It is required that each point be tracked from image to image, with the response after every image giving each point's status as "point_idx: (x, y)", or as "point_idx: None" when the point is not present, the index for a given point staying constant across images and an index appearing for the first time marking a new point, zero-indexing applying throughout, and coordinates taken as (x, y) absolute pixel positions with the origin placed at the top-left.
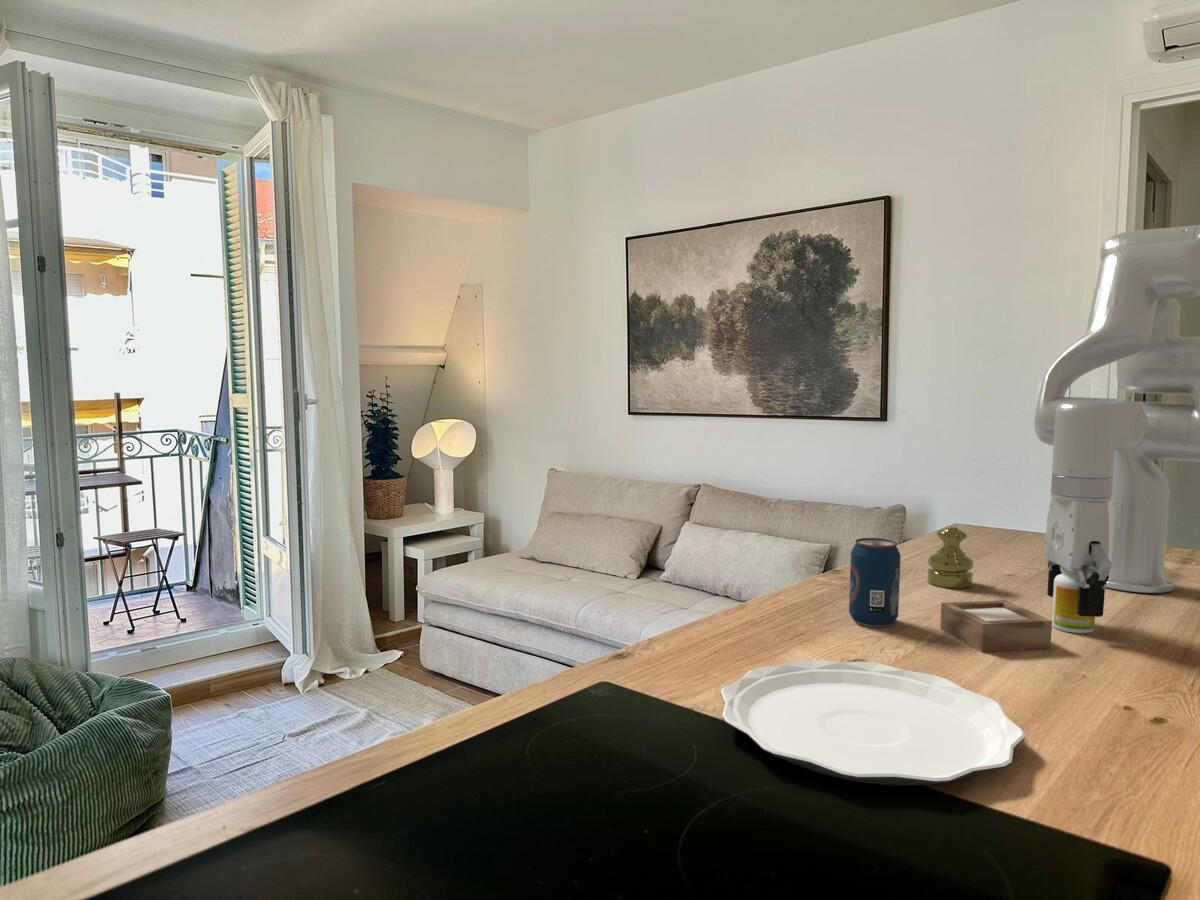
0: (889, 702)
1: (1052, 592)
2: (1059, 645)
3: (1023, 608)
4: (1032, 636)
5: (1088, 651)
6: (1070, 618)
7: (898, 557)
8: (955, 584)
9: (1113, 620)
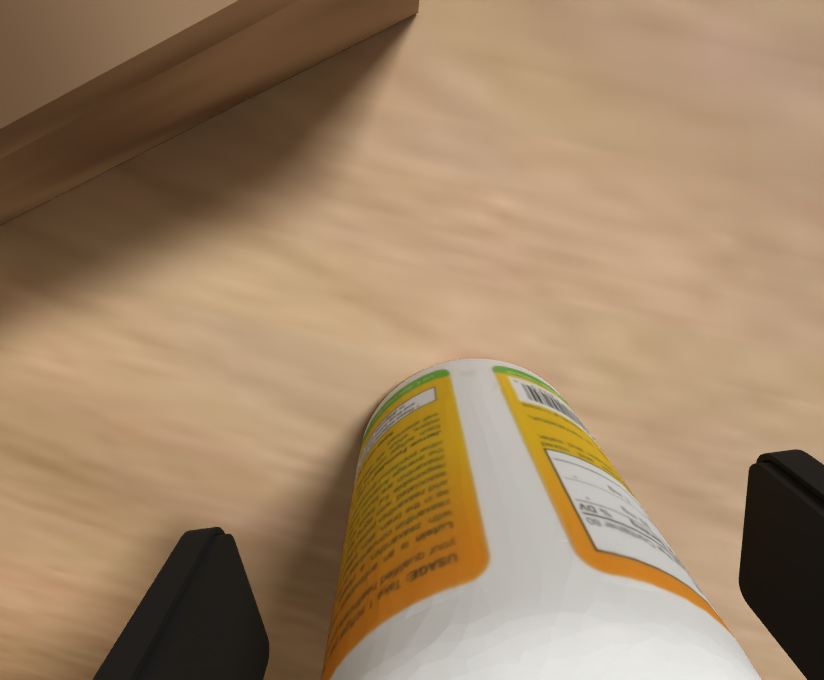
0: None
1: (772, 494)
2: (84, 305)
3: (96, 68)
4: None
5: (44, 428)
6: (360, 469)
7: None
8: None
9: None
